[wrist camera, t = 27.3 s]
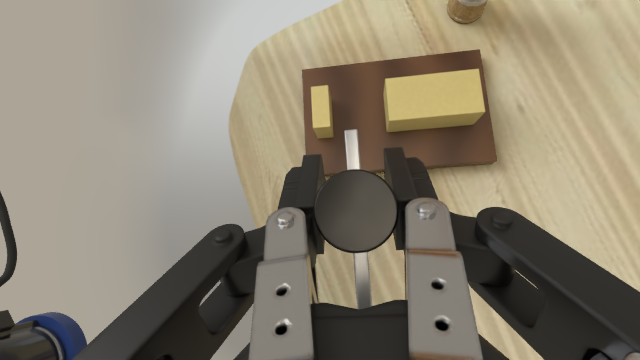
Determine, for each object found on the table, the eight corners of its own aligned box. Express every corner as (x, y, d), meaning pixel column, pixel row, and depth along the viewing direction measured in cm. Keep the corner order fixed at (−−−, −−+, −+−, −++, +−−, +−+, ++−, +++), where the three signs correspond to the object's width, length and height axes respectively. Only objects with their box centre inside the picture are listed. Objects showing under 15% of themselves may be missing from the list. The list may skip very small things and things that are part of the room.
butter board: (308, 177, 42) (306, 175, 40) (304, 75, 44) (302, 69, 43) (492, 163, 39) (497, 160, 38) (475, 55, 42) (479, 49, 40)
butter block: (386, 132, 40) (389, 120, 36) (383, 94, 41) (385, 78, 37) (473, 124, 39) (485, 111, 35) (467, 85, 40) (479, 68, 36)
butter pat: (317, 138, 41) (312, 128, 37) (315, 101, 42) (310, 86, 38) (333, 137, 41) (330, 126, 37) (331, 99, 42) (328, 84, 38)
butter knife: (388, 294, 19) (412, 349, 9) (342, 296, 19) (320, 351, 10) (375, 159, 21) (385, 84, 11) (333, 162, 21) (306, 93, 11)
